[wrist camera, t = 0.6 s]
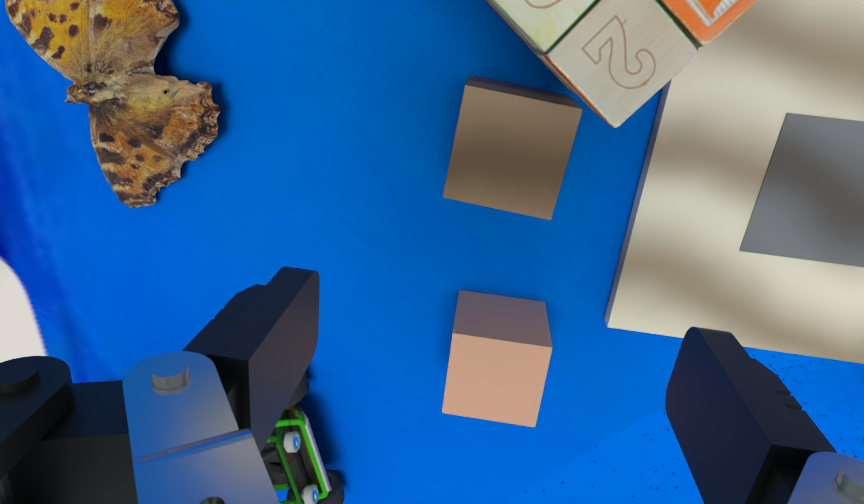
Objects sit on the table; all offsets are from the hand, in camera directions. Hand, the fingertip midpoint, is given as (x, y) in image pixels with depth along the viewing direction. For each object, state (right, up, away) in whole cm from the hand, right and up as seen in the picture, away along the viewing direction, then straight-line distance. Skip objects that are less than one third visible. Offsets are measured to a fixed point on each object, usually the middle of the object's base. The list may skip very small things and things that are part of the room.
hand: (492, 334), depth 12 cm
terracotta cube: (+2, -3, +21) cm, 21 cm away
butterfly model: (-14, +10, +20) cm, 26 cm away
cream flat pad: (+18, +5, +16) cm, 25 cm away
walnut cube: (+3, +8, +17) cm, 19 cm away
